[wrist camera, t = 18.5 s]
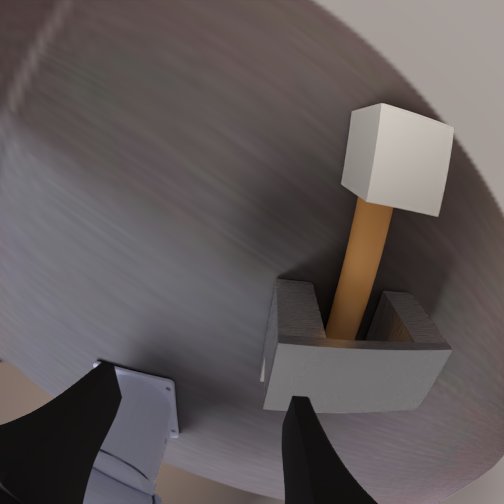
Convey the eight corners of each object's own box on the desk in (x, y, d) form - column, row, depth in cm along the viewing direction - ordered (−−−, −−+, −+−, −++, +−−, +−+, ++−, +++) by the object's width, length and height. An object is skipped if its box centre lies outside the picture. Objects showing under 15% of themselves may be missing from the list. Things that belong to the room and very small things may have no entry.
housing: (378, 370, 22) (400, 431, 16) (260, 363, 22) (257, 432, 16) (410, 293, 20) (452, 349, 13) (275, 278, 20) (278, 342, 13)
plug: (342, 377, 23) (353, 423, 18) (296, 374, 23) (299, 422, 18) (411, 127, 15) (454, 127, 11) (351, 111, 15) (381, 102, 11)
